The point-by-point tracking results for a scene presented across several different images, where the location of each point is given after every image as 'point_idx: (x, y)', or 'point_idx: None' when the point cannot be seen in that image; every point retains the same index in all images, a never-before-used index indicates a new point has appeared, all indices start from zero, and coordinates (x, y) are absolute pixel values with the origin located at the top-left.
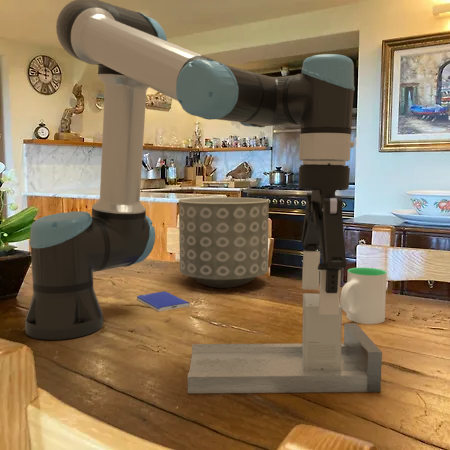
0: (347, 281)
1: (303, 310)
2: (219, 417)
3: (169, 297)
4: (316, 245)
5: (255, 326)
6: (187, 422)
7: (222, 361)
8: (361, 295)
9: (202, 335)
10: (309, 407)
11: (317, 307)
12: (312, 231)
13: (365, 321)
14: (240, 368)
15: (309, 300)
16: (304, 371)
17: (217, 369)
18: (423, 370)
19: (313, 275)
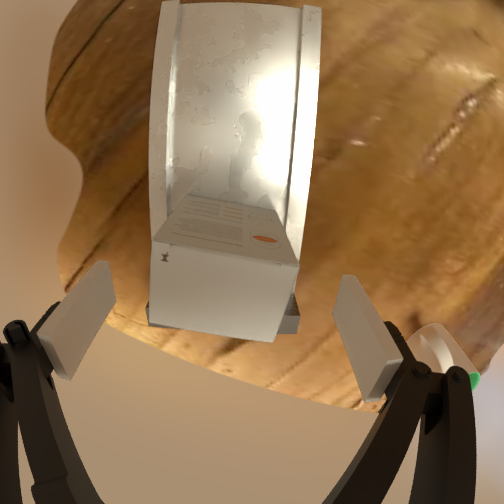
0: (464, 360)
1: (241, 240)
2: (97, 63)
3: None
4: (381, 412)
5: (450, 168)
6: (92, 29)
7: (253, 53)
8: (429, 365)
9: (421, 60)
10: (115, 184)
11: (150, 270)
12: (352, 468)
13: (407, 343)
14: (216, 82)
15: (213, 265)
16: (185, 195)
17: (216, 43)
18: (231, 358)
19: (347, 327)
